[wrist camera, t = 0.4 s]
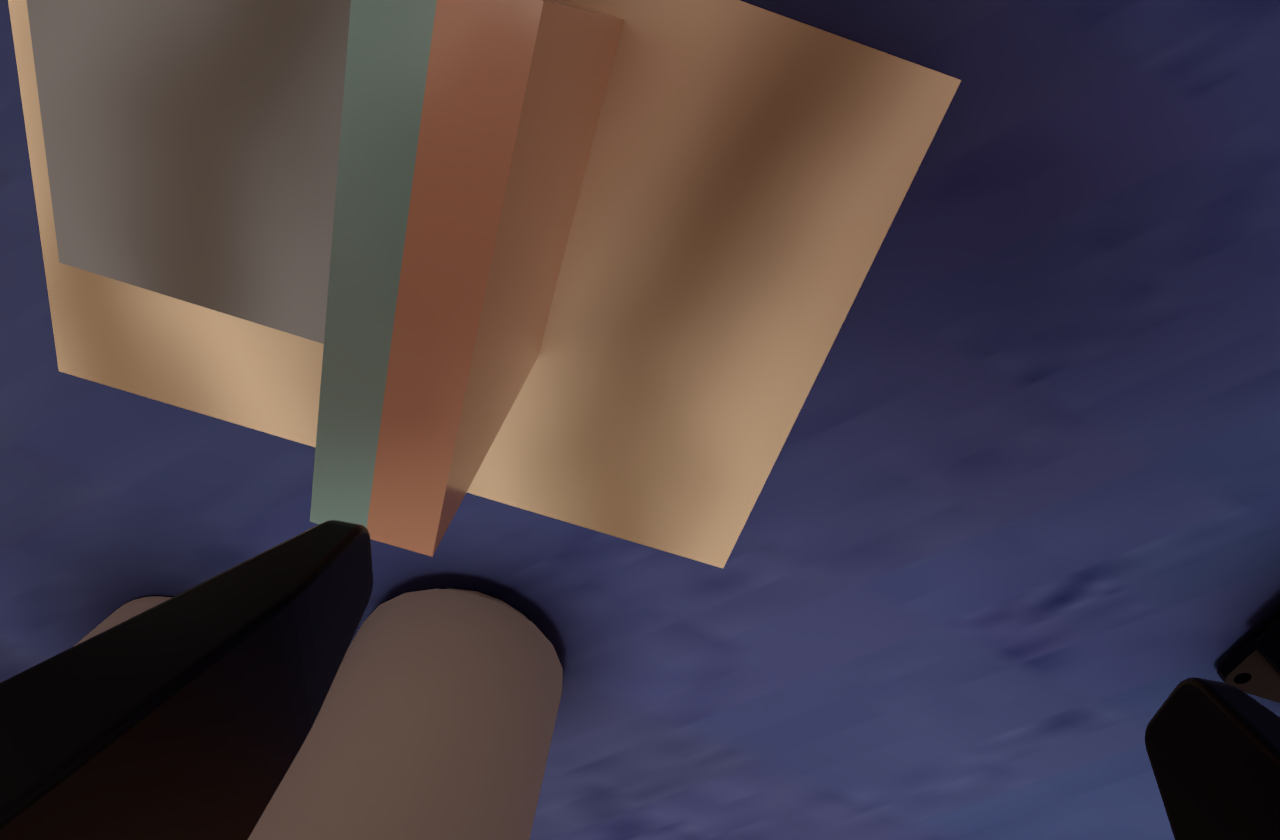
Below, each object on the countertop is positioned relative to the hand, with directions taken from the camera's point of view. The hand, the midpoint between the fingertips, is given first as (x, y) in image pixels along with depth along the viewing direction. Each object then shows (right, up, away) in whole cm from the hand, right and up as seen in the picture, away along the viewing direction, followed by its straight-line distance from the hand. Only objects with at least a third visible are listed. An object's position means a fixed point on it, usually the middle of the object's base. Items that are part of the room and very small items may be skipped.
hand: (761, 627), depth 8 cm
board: (-6, +7, +10) cm, 14 cm away
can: (-8, -6, +18) cm, 21 cm away
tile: (-4, +8, +8) cm, 12 cm away
